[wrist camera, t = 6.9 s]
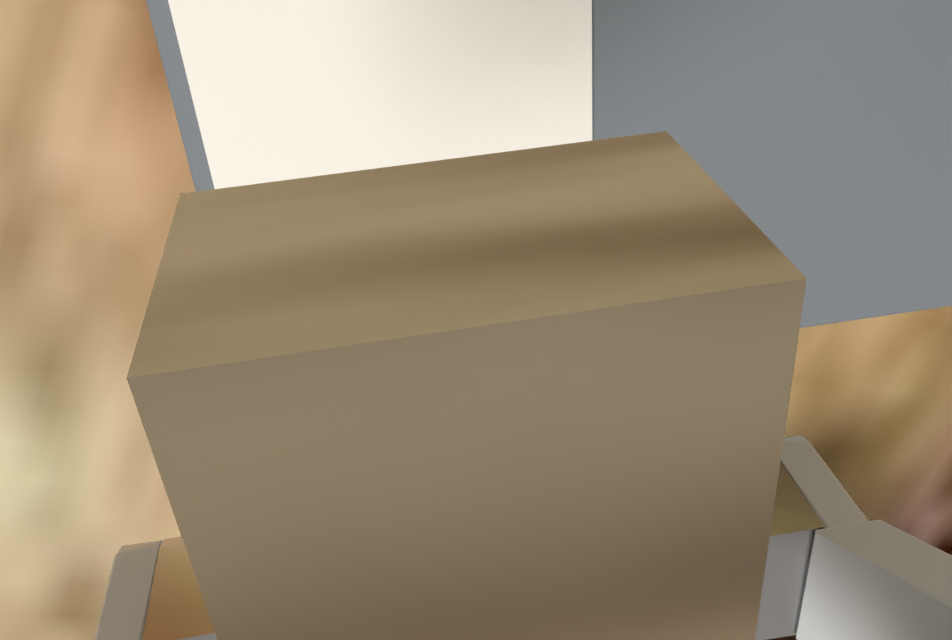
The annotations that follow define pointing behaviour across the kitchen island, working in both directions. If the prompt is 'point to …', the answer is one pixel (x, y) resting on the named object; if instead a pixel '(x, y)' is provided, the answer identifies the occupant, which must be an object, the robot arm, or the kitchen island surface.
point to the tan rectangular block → (474, 398)
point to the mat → (606, 108)
